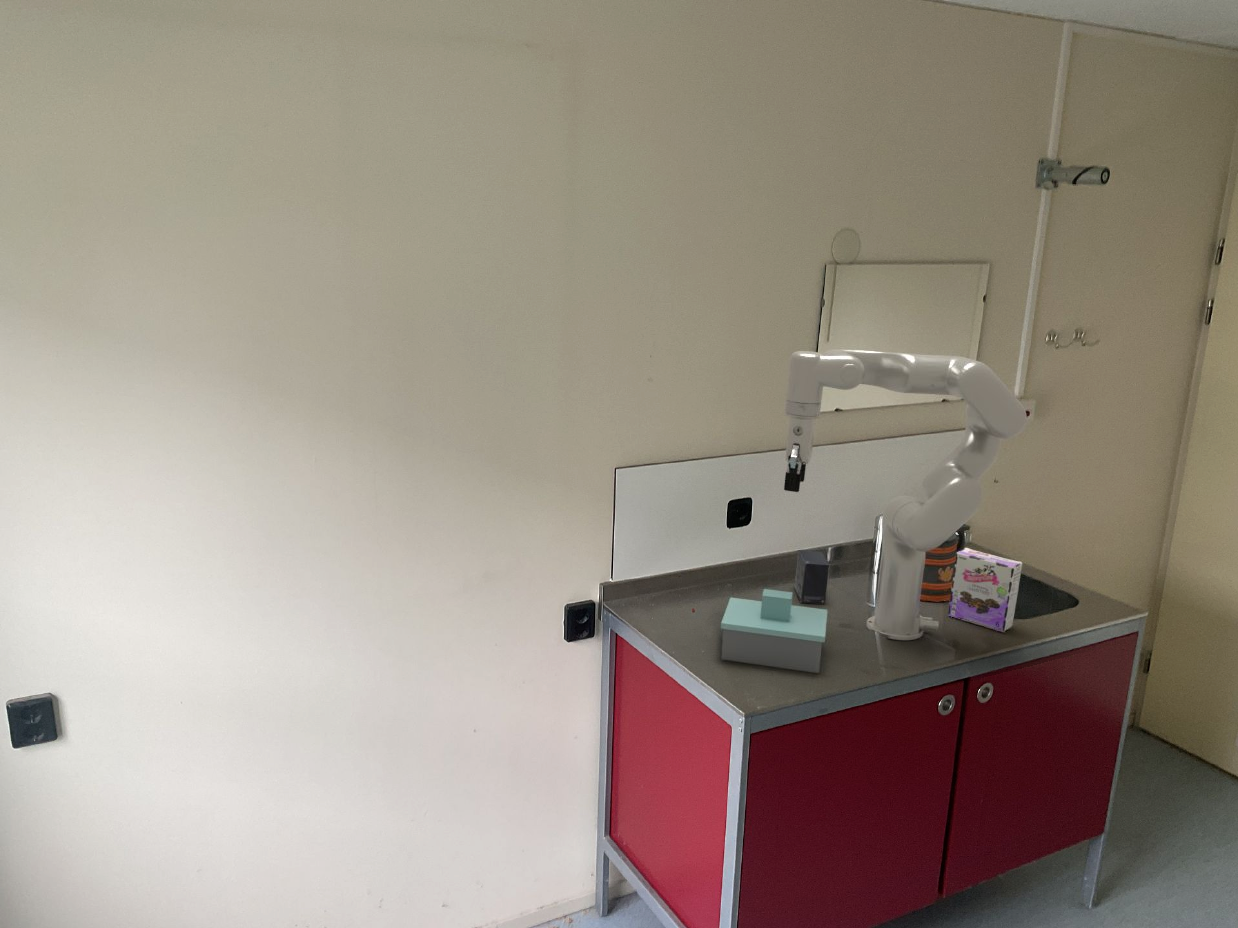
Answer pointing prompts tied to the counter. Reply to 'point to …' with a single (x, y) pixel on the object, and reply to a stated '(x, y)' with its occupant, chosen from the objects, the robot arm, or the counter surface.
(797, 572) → the small box
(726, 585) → the counter surface
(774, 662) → the tub
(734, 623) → the lid
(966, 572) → the candy box
